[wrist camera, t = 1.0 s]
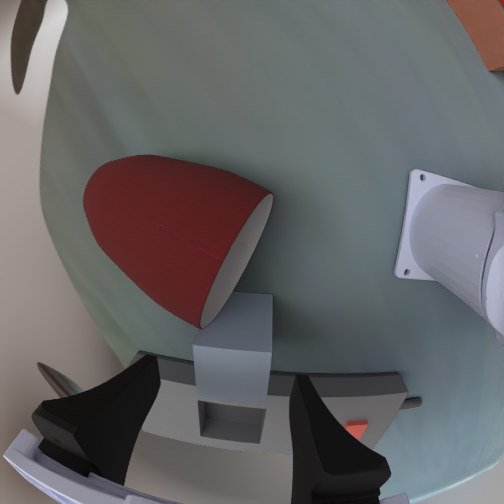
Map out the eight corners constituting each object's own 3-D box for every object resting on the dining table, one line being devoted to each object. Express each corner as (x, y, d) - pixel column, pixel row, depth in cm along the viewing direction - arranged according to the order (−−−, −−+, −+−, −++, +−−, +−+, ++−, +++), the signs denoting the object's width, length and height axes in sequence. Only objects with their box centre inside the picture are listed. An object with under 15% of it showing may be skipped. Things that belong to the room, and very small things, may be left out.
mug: (148, 220, 23) (248, 274, 22) (88, 285, 18) (195, 359, 17) (143, 111, 15) (287, 164, 14) (40, 175, 10) (204, 277, 9)
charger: (272, 294, 19) (272, 352, 13) (268, 342, 21) (265, 407, 14) (217, 290, 20) (192, 344, 13) (217, 338, 21) (197, 400, 14)
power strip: (436, 367, 21) (451, 389, 17) (404, 424, 23) (412, 445, 20) (139, 350, 22) (122, 374, 19) (152, 412, 24) (141, 434, 21)
